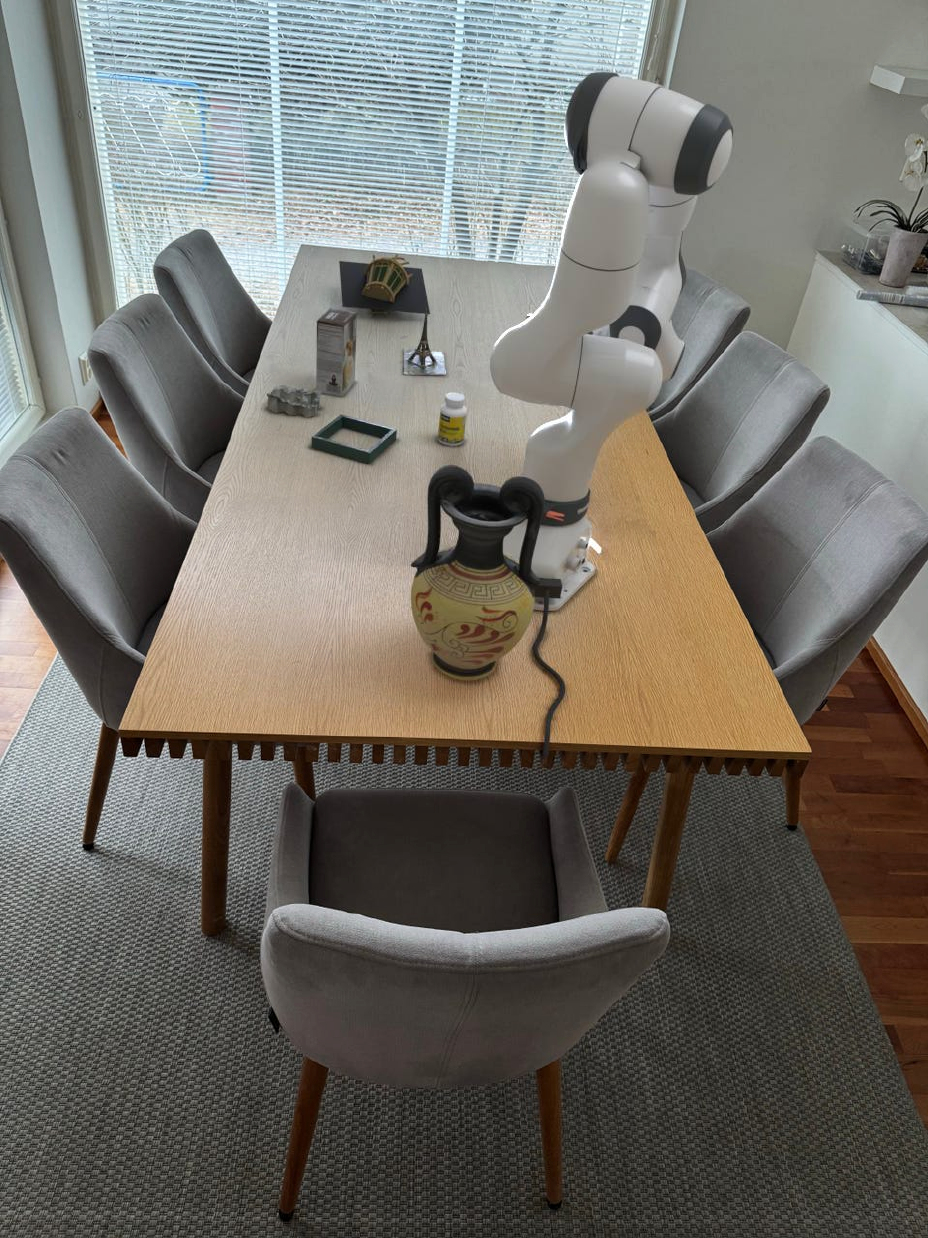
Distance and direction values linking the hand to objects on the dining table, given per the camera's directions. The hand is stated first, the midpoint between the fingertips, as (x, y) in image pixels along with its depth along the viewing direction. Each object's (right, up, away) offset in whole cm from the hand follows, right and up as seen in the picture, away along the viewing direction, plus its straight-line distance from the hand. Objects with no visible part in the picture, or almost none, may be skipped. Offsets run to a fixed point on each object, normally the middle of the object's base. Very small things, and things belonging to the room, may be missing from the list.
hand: (519, 325), depth 171 cm
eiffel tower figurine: (-20, +8, +55) cm, 59 cm away
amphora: (-10, -60, -35) cm, 70 cm away
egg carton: (-46, -9, +27) cm, 54 cm away
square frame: (-32, -18, +17) cm, 40 cm away
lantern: (-33, +33, +88) cm, 99 cm away
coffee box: (-39, -2, +38) cm, 54 cm away
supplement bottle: (-13, -17, +22) cm, 31 cm away
